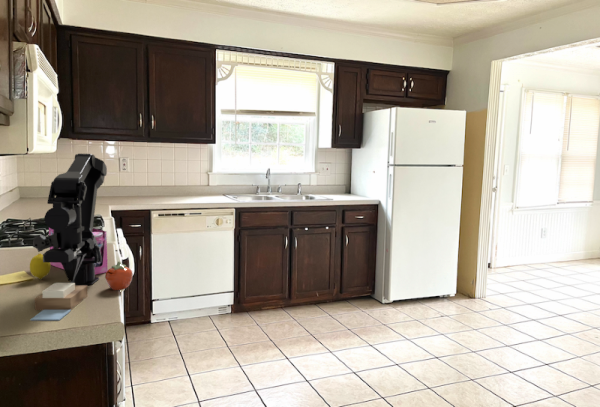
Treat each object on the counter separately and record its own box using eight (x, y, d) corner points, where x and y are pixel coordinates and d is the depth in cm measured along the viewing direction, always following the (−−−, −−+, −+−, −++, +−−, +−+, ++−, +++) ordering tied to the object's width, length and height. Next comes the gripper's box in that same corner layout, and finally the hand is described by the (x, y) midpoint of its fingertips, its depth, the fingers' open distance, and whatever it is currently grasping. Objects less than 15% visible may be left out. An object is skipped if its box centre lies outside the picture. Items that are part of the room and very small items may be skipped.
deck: (55, 296, 124) (54, 285, 124) (87, 296, 125) (87, 285, 124) (35, 310, 113) (34, 298, 113) (70, 310, 114) (70, 298, 113)
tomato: (101, 287, 132) (100, 260, 132) (126, 283, 138) (126, 257, 137) (111, 294, 127) (111, 265, 126) (137, 288, 132) (137, 261, 131)
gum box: (111, 272, 149) (110, 231, 147) (87, 278, 142) (86, 235, 141) (72, 261, 162) (70, 223, 161) (49, 265, 156) (47, 225, 154)
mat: (43, 310, 113) (43, 309, 113) (71, 310, 113) (71, 309, 113) (30, 320, 106) (30, 319, 106) (59, 320, 107) (59, 319, 107)
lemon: (53, 276, 142) (52, 251, 141) (47, 281, 137) (46, 255, 136) (34, 276, 141) (33, 251, 140) (27, 282, 136) (25, 255, 135)
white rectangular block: (55, 289, 120) (55, 282, 120) (75, 289, 120) (74, 282, 120) (42, 298, 113) (42, 290, 113) (63, 298, 114) (63, 291, 113)
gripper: (53, 218, 131) (55, 271, 133) (19, 229, 112) (22, 291, 114) (94, 219, 132) (95, 271, 133) (66, 229, 113) (68, 291, 115)
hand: (71, 280), depth 124 cm, fingers closed
